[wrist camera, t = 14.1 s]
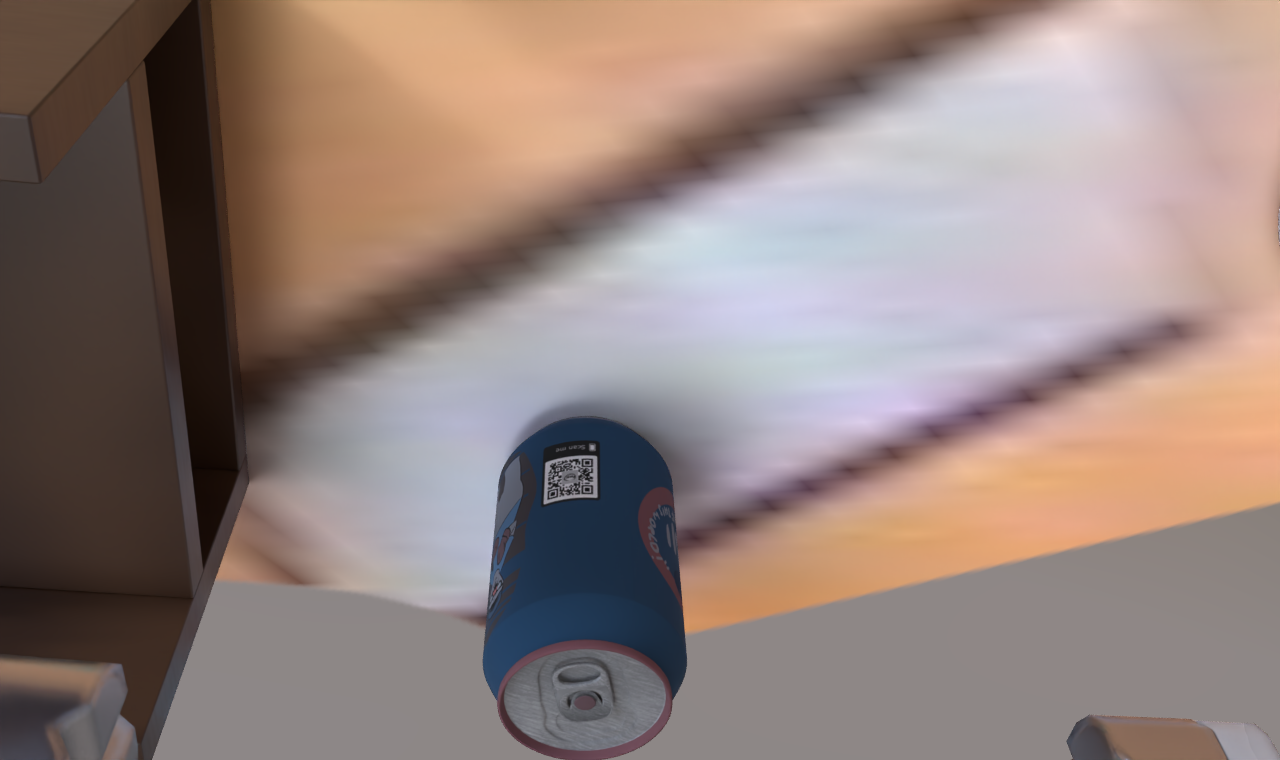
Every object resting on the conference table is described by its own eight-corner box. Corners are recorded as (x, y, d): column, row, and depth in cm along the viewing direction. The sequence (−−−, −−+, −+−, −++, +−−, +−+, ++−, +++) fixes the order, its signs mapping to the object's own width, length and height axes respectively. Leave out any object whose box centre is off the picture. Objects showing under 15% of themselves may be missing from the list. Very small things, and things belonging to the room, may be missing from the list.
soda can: (679, 523, 51) (700, 761, 41) (517, 541, 51) (500, 782, 41) (660, 392, 47) (679, 622, 37) (485, 413, 47) (458, 647, 37)
